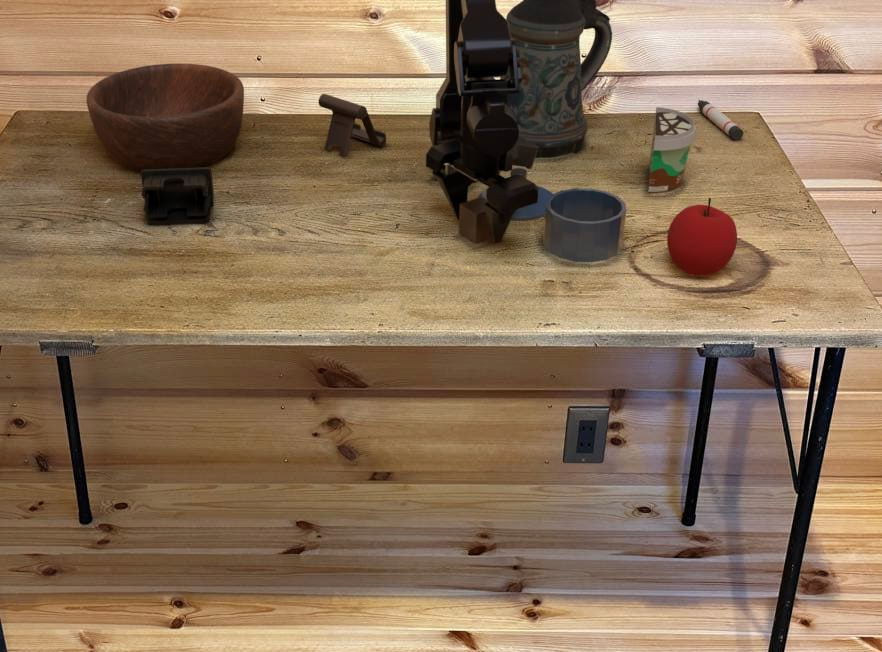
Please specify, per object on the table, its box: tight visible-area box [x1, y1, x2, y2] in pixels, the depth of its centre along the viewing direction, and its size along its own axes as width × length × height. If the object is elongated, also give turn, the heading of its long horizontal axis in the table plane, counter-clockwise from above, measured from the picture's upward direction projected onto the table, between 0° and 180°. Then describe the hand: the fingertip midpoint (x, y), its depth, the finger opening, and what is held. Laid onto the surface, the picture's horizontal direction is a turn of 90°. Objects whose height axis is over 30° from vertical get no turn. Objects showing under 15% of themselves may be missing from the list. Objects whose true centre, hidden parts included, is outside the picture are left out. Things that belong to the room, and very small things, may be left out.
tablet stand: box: [318, 93, 387, 157], centre depth 193 cm, size 9×8×8 cm
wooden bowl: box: [85, 63, 245, 172], centre depth 192 cm, size 25×25×10 cm
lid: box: [477, 167, 554, 221], centre depth 175 cm, size 12×12×6 cm
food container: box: [647, 106, 697, 194], centre depth 179 cm, size 12×6×10 cm, turn 168°
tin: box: [542, 187, 627, 263], centre depth 164 cm, size 11×11×6 cm
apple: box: [666, 197, 738, 277], centre depth 157 cm, size 9×9×10 cm
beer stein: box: [499, 0, 613, 159], centre depth 189 cm, size 16×19×25 cm
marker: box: [697, 99, 744, 141], centre depth 200 cm, size 15×2×2 cm, turn 12°
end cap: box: [140, 166, 215, 226], centre depth 174 cm, size 10×7×7 cm
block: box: [458, 197, 492, 245], centre depth 167 cm, size 4×4×5 cm
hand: (478, 230), depth 167 cm, fingers open, 8 cm apart
